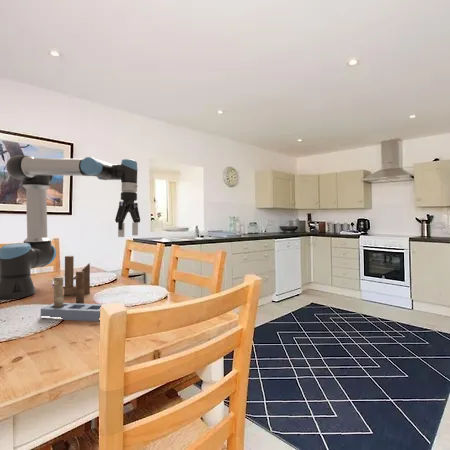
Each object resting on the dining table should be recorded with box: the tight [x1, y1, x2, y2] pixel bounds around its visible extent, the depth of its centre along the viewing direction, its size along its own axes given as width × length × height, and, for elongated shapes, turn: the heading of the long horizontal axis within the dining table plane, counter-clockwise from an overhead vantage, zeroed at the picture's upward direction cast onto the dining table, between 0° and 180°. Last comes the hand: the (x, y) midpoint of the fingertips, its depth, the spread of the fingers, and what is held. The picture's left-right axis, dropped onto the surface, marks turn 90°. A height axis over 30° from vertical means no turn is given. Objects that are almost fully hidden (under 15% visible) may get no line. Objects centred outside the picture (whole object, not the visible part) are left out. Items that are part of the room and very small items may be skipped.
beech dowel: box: [53, 276, 64, 308], centre depth 107 cm, size 3×3×14 cm
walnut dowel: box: [75, 270, 85, 304], centre depth 119 cm, size 3×3×14 cm
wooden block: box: [63, 255, 91, 296], centre depth 138 cm, size 4×11×18 cm, turn 115°
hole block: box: [40, 302, 103, 322], centre depth 107 cm, size 22×8×4 cm, turn 86°
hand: (128, 236), depth 141 cm, fingers open, 13 cm apart
